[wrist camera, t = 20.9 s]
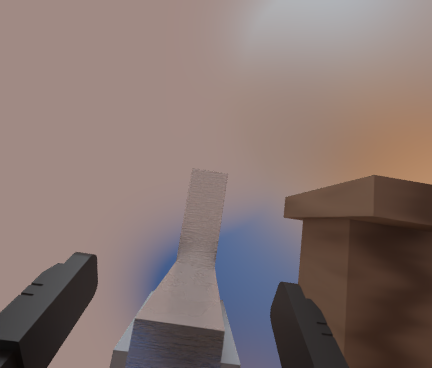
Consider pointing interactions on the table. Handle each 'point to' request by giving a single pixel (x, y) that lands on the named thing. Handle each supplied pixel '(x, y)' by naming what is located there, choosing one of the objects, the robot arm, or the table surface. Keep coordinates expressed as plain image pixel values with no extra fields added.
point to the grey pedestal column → (229, 352)
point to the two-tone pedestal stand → (370, 267)
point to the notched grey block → (186, 290)
